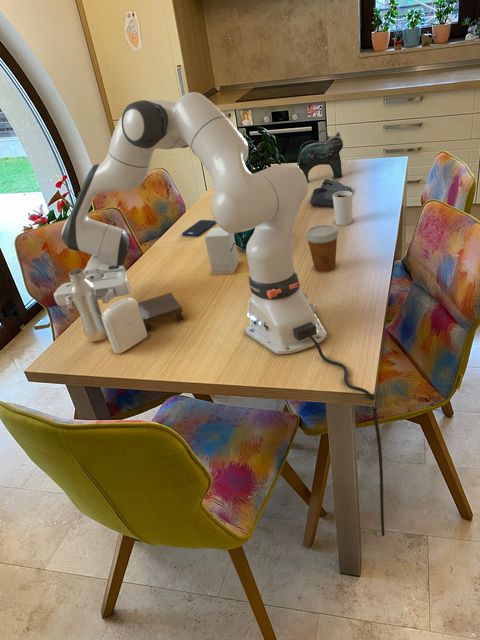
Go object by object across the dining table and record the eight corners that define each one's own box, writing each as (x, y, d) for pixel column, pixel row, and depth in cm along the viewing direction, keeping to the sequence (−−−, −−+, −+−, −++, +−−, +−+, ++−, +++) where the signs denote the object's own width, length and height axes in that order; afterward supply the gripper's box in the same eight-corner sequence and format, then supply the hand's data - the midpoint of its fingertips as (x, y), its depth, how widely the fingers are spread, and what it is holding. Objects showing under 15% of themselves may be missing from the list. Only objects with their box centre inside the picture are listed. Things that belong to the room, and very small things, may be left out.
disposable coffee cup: (346, 262, 171) (343, 225, 164) (331, 276, 165) (328, 238, 158) (318, 259, 176) (315, 222, 169) (303, 272, 170) (299, 235, 163)
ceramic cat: (343, 173, 245) (340, 125, 234) (346, 177, 240) (343, 128, 229) (298, 180, 245) (293, 133, 235) (300, 185, 240) (295, 136, 229)
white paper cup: (333, 226, 197) (331, 198, 191) (335, 219, 202) (333, 191, 197) (353, 224, 195) (351, 196, 190) (353, 217, 201) (352, 190, 195)
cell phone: (181, 235, 210) (181, 233, 209) (201, 221, 220) (200, 219, 219) (197, 236, 207) (197, 234, 206) (217, 222, 216) (216, 220, 216)
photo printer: (119, 355, 145) (105, 314, 138) (110, 351, 147) (95, 310, 140) (150, 336, 151) (138, 295, 144) (140, 332, 153) (128, 292, 146)
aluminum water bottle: (116, 334, 154) (94, 267, 144) (98, 346, 150) (73, 279, 139) (100, 329, 158) (78, 264, 147) (82, 341, 153) (57, 275, 143)
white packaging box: (234, 273, 176) (227, 235, 169) (211, 274, 178) (203, 237, 171) (239, 263, 182) (233, 226, 175) (217, 264, 184) (210, 227, 177)
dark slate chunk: (304, 209, 214) (302, 197, 212) (315, 190, 232) (314, 178, 229) (344, 208, 210) (343, 195, 207) (352, 188, 227) (352, 176, 224)
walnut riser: (184, 320, 156) (181, 307, 153) (146, 332, 153) (142, 320, 151) (173, 304, 164) (170, 292, 162) (137, 316, 161) (133, 303, 159)
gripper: (57, 276, 158) (44, 299, 146) (128, 264, 157) (121, 286, 146) (65, 296, 161) (52, 319, 150) (135, 285, 161) (128, 308, 149)
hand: (87, 303), depth 148 cm, fingers open, 8 cm apart
